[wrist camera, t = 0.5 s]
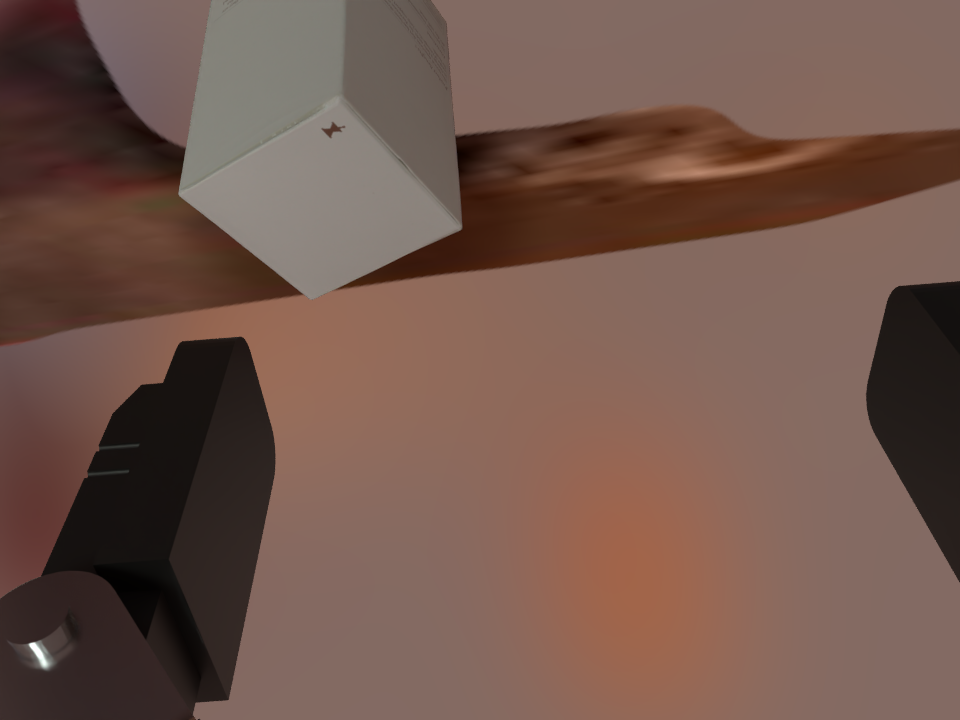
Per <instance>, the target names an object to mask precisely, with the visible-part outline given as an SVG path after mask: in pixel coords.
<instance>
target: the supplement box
mask: <svg viewBox="0 0 960 720" xmlns="http://www.w3.org/2000/svg"><path fill="white" fill-rule="evenodd" d="M454 128H455V127H454V116H453V104H452V92H451V80H450V68H449V51H448V40H447V24H446V21H445V20H444V18H443V17H442V16H441V14H440V13H439V12H438V10H437V9H436V7H435V6H434V4H433V3H432V2H431V0H211V6H210V11H209V15H208V22H207V27H206V34H205V40H204V46H203V52H202V58H201V64H200V69H199V76H198V82H197V87H196V93H195V98H194V104H193V111H192V117H191V124H190V129H189V135H188V141H187V147H186V152H185V158H184V165H183V171H182V176H181V182H180V188H179V196H180V197H181V198H183V199H184V200H185V201H186V202H188V203H189V204H190V205H192V206H193V207H194V208H195V209H197V210H198V211H199V212H201V213H202V214H203V215H205V216H206V217H207V218H208V219H209V220H211V221H212V222H213V223H215V224H216V225H217V226H219V227H220V228H221V229H222V230H224V231H225V232H226V233H227V234H229V235H230V236H231V237H232V238H234V239H235V240H236V241H237V242H239V243H240V244H241V245H242V246H244V247H245V248H246V249H247V250H249V251H250V252H251V253H252V254H254V255H255V256H256V257H257V258H259V259H260V260H261V261H262V262H264V263H265V264H266V265H268V266H269V267H270V268H271V269H273V270H274V271H275V272H276V273H278V274H279V275H280V276H281V277H283V278H284V279H285V280H286V281H288V282H289V283H290V284H291V285H293V286H294V287H295V288H296V289H298V290H299V291H300V292H301V293H303V294H304V295H305V296H306V297H307V298H309V299H311V300H313V299H315V298H317V297H320V296H322V295H324V294H326V293H328V292H330V291H333V290H335V289H337V288H339V287H341V286H343V285H345V284H347V283H349V282H351V281H353V280H355V279H358V278H360V277H362V276H364V275H366V274H368V273H370V272H372V271H374V270H376V269H379V268H381V267H383V266H385V265H387V264H389V263H391V262H393V261H395V260H397V259H399V258H401V257H403V256H405V255H407V254H409V253H411V252H413V251H416V250H418V249H420V248H422V247H425V246H427V245H429V244H431V243H434V242H436V241H438V240H440V239H442V238H444V237H447V236H449V235H451V234H453V233H456V232H458V231H460V230H461V229H462V215H461V200H460V187H459V174H458V164H457V151H456V140H455V129H454Z"/></svg>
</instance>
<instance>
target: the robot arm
mask: <svg viewBox="0 0 960 720" xmlns="http://www.w3.org/2000/svg"><path fill="white" fill-rule="evenodd" d="M866 401H867V411H868V416H869V420H870V424H871V426H872V429H873V431H874V433H875V435H876V437H877V439H878V440H879V442H880V444H881V446H882V448H883V449H884V451H885V453H886V454H887V456H888V458H889V460H890V462H891V463H892V465H893V467H894V468H895V470H896V472H897V474H898V475H899V477H900V479H901V481H902V482H903V484H904V486H905V487H906V489H907V491H908V493H909V495H910V496H911V498H912V500H913V502H914V503H915V505H916V507H917V509H918V510H919V512H920V514H921V515H922V517H923V519H924V521H925V522H926V524H927V526H928V528H929V530H930V531H931V533H932V535H933V537H934V538H935V540H936V542H937V543H938V545H939V547H940V549H941V551H942V552H943V554H944V556H945V557H946V559H947V561H948V563H949V565H950V566H951V568H952V570H953V571H954V573H955V575H956V577H957V578H958V580H959V582H960V281H957V282H946V283H932V284H920V285H908V286H898V287H896V288H895V289H894V290H893V291H892V292H891V294H890V296H889V298H888V301H887V304H886V309H885V313H884V317H883V321H882V325H881V330H880V334H879V338H878V342H877V346H876V350H875V355H874V358H873V362H872V367H871V371H870V375H869V379H868V384H867V393H866ZM87 472H88V478H84V480H83V482H82V485H81V487H80V489H79V491H78V494H77V496H76V498H75V500H74V503H73V505H72V507H71V509H70V512H69V514H68V517H67V519H66V521H65V523H64V526H63V528H62V530H61V532H60V534H59V537H58V539H57V541H56V544H55V546H54V548H53V550H52V553H51V555H50V557H49V559H48V562H47V564H46V566H45V568H44V571H43V573H42V575H41V577H38V578H35V579H33V580H30V581H28V582H26V583H24V584H22V585H20V586H19V587H17V588H15V589H14V590H12V591H10V592H9V593H7V594H6V595H4V596H3V597H2V598H0V720H196V719H195V718H194V716H193V711H194V707H195V703H196V702H209V701H223V700H229V695H230V690H231V685H232V681H233V675H234V671H235V666H236V661H237V656H238V651H239V646H240V641H241V637H242V632H243V627H244V622H245V617H246V612H247V607H248V602H249V597H250V592H251V588H252V583H253V578H254V573H255V568H256V563H257V559H258V554H259V549H260V543H261V539H262V534H263V529H264V524H265V519H266V514H267V510H268V505H269V499H270V495H271V490H272V485H273V480H274V475H275V443H274V436H273V431H272V427H271V423H270V420H269V416H268V412H267V409H266V405H265V402H264V398H263V395H262V391H261V388H260V384H259V380H258V377H257V373H256V370H255V366H254V363H253V359H252V356H251V352H250V349H249V346H248V344H247V342H246V341H245V339H244V338H242V337H232V338H219V339H207V340H194V341H182V342H181V343H180V344H179V345H178V347H177V349H176V351H175V354H174V356H173V359H172V361H171V364H170V367H169V369H168V372H167V374H166V377H165V379H164V382H163V383H158V384H146V385H141V386H140V387H139V388H138V389H137V390H136V391H135V392H134V393H133V394H132V395H131V396H130V397H129V398H128V399H127V400H126V401H125V402H124V403H123V404H122V405H121V406H120V407H119V408H118V409H117V410H116V411H115V412H114V413H113V414H112V416H111V419H110V421H109V423H108V425H107V428H106V430H105V432H104V435H103V437H102V439H101V441H100V444H99V451H97V452H96V453H95V455H94V457H93V460H92V462H91V464H90V466H89V469H88V471H87ZM198 720H200V719H198Z"/></svg>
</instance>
